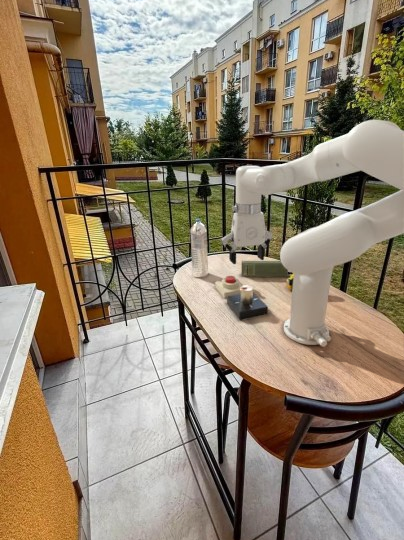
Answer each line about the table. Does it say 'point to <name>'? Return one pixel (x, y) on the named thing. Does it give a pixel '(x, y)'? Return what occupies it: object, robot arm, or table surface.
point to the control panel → (247, 307)
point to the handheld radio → (264, 269)
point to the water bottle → (199, 249)
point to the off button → (230, 279)
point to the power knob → (246, 294)
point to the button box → (228, 287)
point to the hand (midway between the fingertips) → (247, 260)
